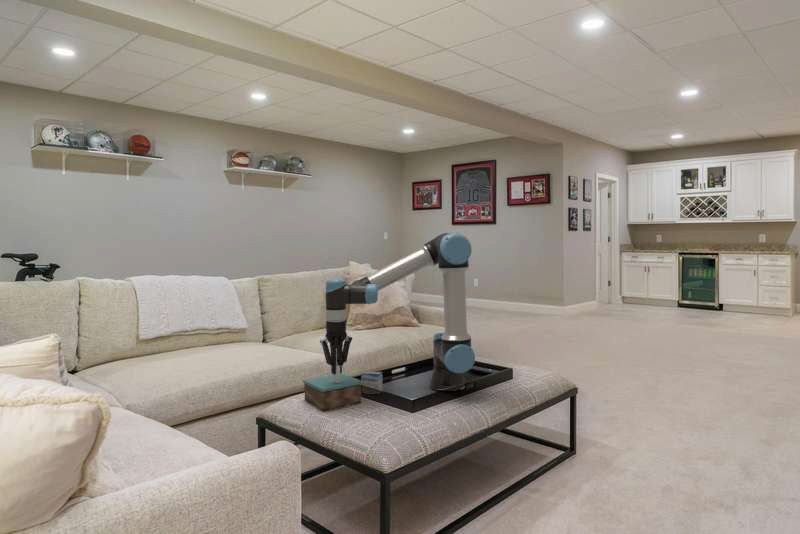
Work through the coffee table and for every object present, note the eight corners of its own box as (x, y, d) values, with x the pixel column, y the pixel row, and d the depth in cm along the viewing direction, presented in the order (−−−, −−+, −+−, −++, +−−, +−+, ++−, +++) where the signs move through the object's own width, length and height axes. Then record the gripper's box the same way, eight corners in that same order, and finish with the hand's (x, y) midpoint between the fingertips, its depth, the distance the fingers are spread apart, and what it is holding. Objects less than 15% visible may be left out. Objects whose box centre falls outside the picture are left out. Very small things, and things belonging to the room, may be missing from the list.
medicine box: (361, 394, 212) (360, 373, 211) (364, 390, 216) (364, 370, 215) (379, 395, 210) (379, 374, 209) (382, 392, 214) (382, 371, 213)
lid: (341, 375, 213) (341, 373, 213) (363, 383, 200) (363, 381, 200) (303, 382, 204) (303, 380, 204) (323, 391, 190) (322, 389, 190)
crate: (340, 392, 214) (340, 375, 213) (361, 403, 201) (360, 385, 200) (304, 400, 204) (304, 382, 204) (323, 411, 191) (323, 392, 191)
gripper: (346, 317, 204) (346, 377, 205) (315, 320, 196) (316, 382, 198) (356, 319, 198) (356, 381, 199) (325, 323, 190) (325, 387, 192)
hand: (336, 381), depth 198 cm, fingers closed
